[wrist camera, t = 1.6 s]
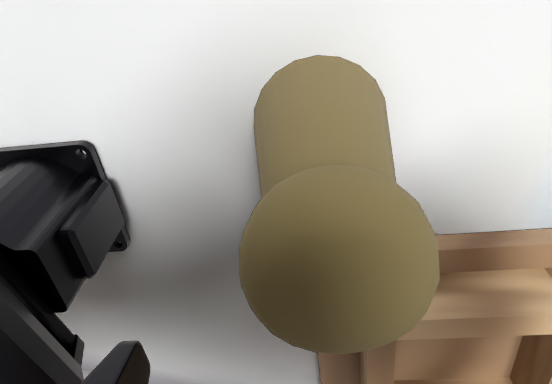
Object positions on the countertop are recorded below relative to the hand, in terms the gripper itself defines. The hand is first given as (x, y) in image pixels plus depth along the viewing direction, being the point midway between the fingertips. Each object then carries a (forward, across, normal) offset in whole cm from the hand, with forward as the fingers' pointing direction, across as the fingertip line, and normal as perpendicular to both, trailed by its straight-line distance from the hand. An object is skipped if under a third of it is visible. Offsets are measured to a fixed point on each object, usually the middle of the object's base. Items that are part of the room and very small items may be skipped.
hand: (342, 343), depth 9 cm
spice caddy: (+12, -7, +14) cm, 20 cm away
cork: (+12, 0, 0) cm, 12 cm away
